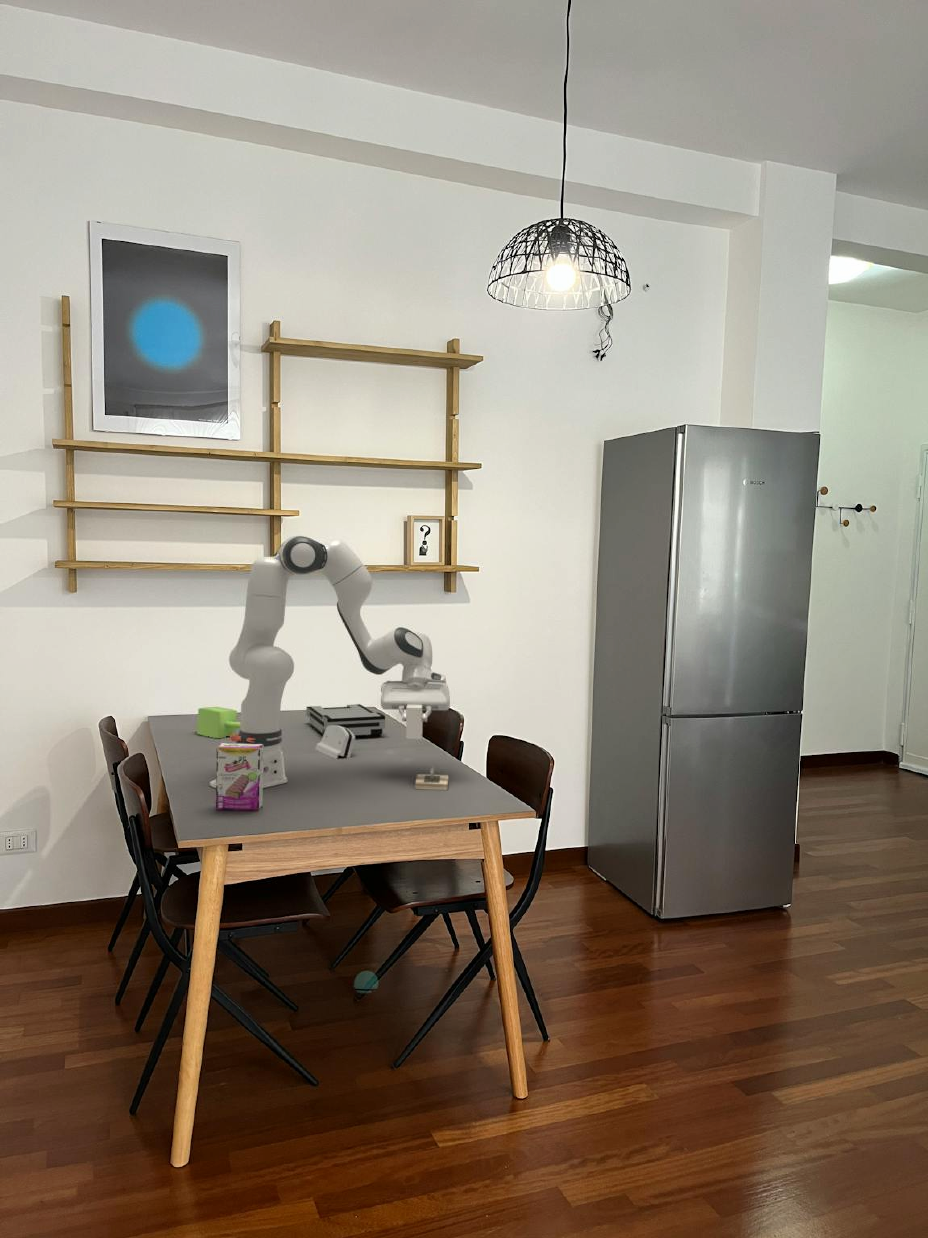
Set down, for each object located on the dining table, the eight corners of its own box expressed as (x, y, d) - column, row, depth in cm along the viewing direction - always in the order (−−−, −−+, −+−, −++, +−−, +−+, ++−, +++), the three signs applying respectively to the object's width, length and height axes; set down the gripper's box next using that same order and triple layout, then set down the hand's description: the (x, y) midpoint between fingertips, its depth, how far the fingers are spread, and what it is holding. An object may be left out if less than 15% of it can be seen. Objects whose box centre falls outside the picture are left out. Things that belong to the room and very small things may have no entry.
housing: (421, 739, 265) (421, 707, 264) (406, 738, 265) (406, 707, 264) (422, 733, 272) (422, 703, 271) (407, 733, 272) (407, 703, 271)
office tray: (359, 722, 358) (360, 701, 357) (384, 738, 328) (385, 715, 328) (306, 725, 350) (306, 703, 349) (327, 742, 321) (327, 718, 320)
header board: (447, 790, 261) (447, 773, 260) (415, 789, 261) (415, 772, 260) (448, 780, 272) (448, 764, 271) (417, 779, 272) (417, 763, 271)
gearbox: (248, 737, 326) (250, 710, 326) (227, 741, 318) (229, 713, 318) (212, 730, 336) (213, 704, 335) (191, 733, 327) (192, 706, 327)
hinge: (314, 749, 308) (324, 720, 309) (326, 752, 311) (336, 723, 312) (336, 759, 294) (346, 729, 295) (348, 762, 297) (358, 732, 298)
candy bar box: (215, 810, 236) (215, 746, 234) (219, 805, 241) (219, 742, 239) (259, 811, 236) (260, 747, 235) (263, 805, 241) (263, 743, 240)
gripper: (380, 674, 274) (377, 713, 265) (450, 675, 274) (449, 714, 265) (382, 687, 279) (379, 726, 270) (450, 688, 279) (449, 727, 270)
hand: (414, 720), depth 268 cm, fingers closed on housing, 4 cm apart
